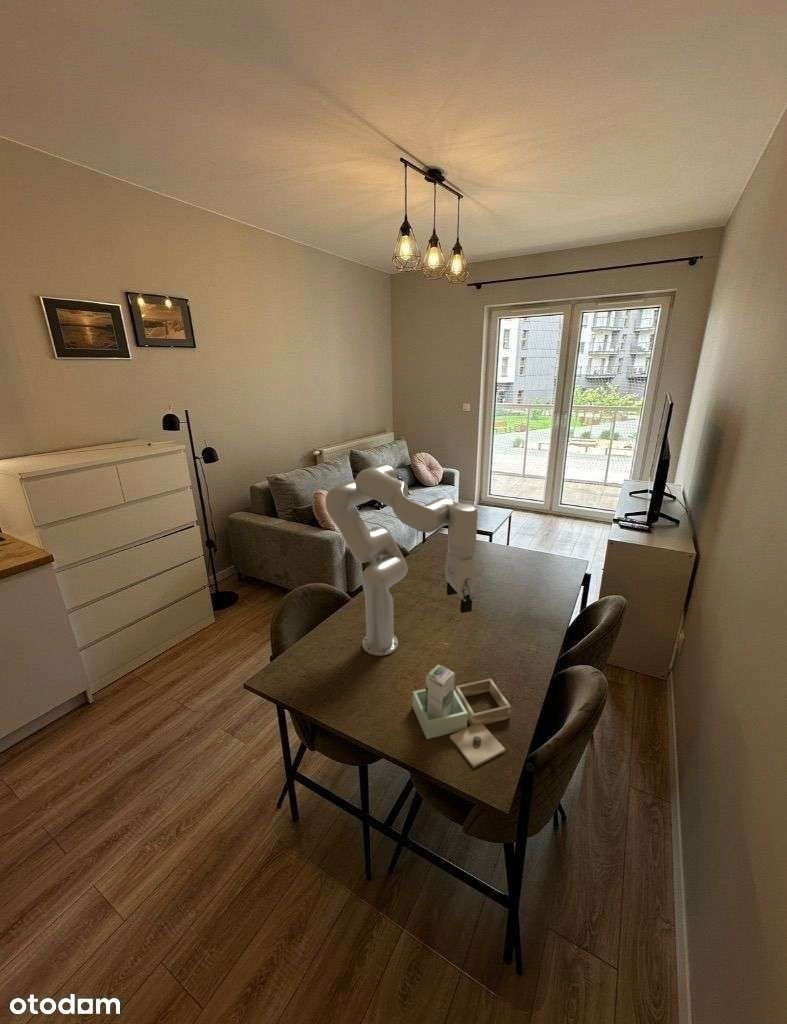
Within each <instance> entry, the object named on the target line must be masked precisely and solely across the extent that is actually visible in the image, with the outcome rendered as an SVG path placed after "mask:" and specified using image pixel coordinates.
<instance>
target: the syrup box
mask: <svg viewBox="0 0 787 1024" xmlns="http://www.w3.org/2000/svg"><path fill="white" fill-rule="evenodd" d="M455 675H456V672H454V671H452V670H450V669H449V668H447V667H445V666H443V665H440V664H437V665H436V666H434V667H433V668H432V669H431V670H430V671H429V672H427V674H426V675H425V689H426V690H425V713H426V715H427V717H428V718H429V719H430V720H431V719H435V718H440V717H444V716H448V715H451V714H452V708H453V695H454V690H455V679H456V676H455Z"/></svg>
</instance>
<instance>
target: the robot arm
mask: <svg viewBox="0 0 787 1024" xmlns="http://www.w3.org/2000/svg"><path fill="white" fill-rule="evenodd" d="M408 496H409V487H408V484H407V482H405V481H402V480H401V479H398V475H397V471H396V470H395V469H394V468H393V467H392V466H390V465H388V464H384V463H383V464H378V465H375V466H371V467H367V468H364V469H362V470H360V472H359V473H358V474H357V475H356V477H355V479H353V480H349V481H346V482H345V481H344V482H342V483H340V484H339V483H338V484H337V485H335V486H333V487H332V488H330V489H329V490H328V492H327V493H326V497H325V499H324V500H325V502H324V503H325V509H326V511H327V514H328V516H329V518H330V519H331V520H332V522H333V523H334V524H335V525H336V527H337V528H338V530H339V532H340V534H341V536H342V538H343V539H344V541H345V543H346V545H347V547H348V549H349V551H350V554H351V555H352V557H353V558H354V559H355V560H356V561H357V562H358V563H361V564H363V563H367V562H370V561H372V560H373V559H376V558H378V557H379V560H377V561H375V562H374V563H373V562H372V564H370V565H368V566H367V567H366V568H365V569H364V570H363V571H362V573H361V585H362V589H363V593H364V603H365V604H364V605H365V606H364V607H365V631H366V632H365V633H366V635H365V636H364V638H363V639H362V643H361V645H362V649H363V650H364V652H366V653H368V654H369V655H372V656H376V657H379V656H387V655H390V654H392V653H394V652H395V651H396V650H397V648H398V646H399V639H398V638H397V636H396V635H395V634H394V629H395V628H394V598H393V596H392V594H391V592H390V588H391V587H393V586H394V585H395V584H397V583H398V582H400V581H401V580H402V579H403V580H404V578H405V577H406V576H407V573H408V564H407V562H406V559H405V557H404V555H403V554H402V552H401V550H400V547H399V546H398V545H397V542H396V540H395V538H394V537H393V535H392V534H391V533H390V531H389V530H388V529H386V528H385V527H382V526H376V527H372V528H370V529H368V526H367V525H366V524H365V523H366V522H365V521H364V519H363V518H362V517H361V516H360V515H359V514H358V513H356V512H355V511H353V510H352V508H354V507H357V506H360V505H362V504H365V503H368V502H370V501H371V500H374V501H377V502H379V503H382V504H384V505H386V506H387V507H389V508H392V512H393V513H394V515H395V516H396V517H397V519H398V520H399V521H400V522H401V523H402V524H403V525H405V526H407V527H409V528H412V529H414V530H416V531H418V532H421V533H425V534H428V533H434V532H435V531H437V530H439V529H440V528H443V527H445V526H448V535H447V536H448V538H447V539H448V542H447V553H446V559H445V560H446V561H445V569H444V570H445V571H444V577H445V580H446V595H447V596H453V595H457V594H459V593H460V595H461V599H460V608H459V609H460V611H459V612H460V613H461V614H464V613H470V612H472V610H473V609H472V608H473V601H474V599H475V595H476V589H475V588H474V585H475V560H474V559H475V556H476V547H477V531H478V519H479V518H478V515H479V513H478V512H479V511H478V509H477V507H475V506H474V505H471V504H467V503H460V502H458V501H455V500H453V499H451V498H449V497H440V498H437V499H434V500H433V501H430V502H428V503H425V504H423V505H422V504H420V503H417V502H415V501H412V500H410V499H409V498H408ZM466 592H467V593H468V594H467V595H466V594H465V593H466Z"/></svg>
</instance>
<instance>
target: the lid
mask: <svg viewBox="0 0 787 1024" xmlns="http://www.w3.org/2000/svg"><path fill="white" fill-rule="evenodd" d="M449 739H450V740H451V742H452V743H453V744H454V745H455V747H457V749H458V750H459V752H460V753H461V754H462V756H463V757H464V758H465V760H467V762H468V763H469V764H470V766H471V767H472V768H473V769H475V768H477V767H479V766H480V765H482V764H484V763H486V762H488V761H490V760H492V759H493V758H495V757H497V756H499V755H500V754H503V753H505V752H506V748H505V747H504V746H503V745H502V743H500V742H499V740H498V739H497V738H496V737H495V736H494V735H493V734H492V733H491V732H490V730H489V729H488V728H487V727H486V726H485V725H483V724H482V723H480V724H476V725H470V726H467V728H465V729H463V730H461V731H457V732H453V734H452V733H451V735H449Z"/></svg>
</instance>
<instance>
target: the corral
mask: <svg viewBox="0 0 787 1024" xmlns="http://www.w3.org/2000/svg"><path fill="white" fill-rule="evenodd" d="M454 690H455V692H456V694H457V695H458V697H459V699H460V701H461V702H462V704H463V706H464V707H465V709H466V711H467V713H468V718H467V722H468V723H469V724H470V726H471V725H476V724H480V723H482V724H483V725H484V726H485V725H489V724H492V723H493V724H494V723H497V722H500V721H504V720H505V721H506V720H508V719H511V715H512V714H511V711H512V706H511V704H510V702H509V701H508V700H507V699H506V697H505V696H504V695H503V693H502V692H501V690H500V689H499V688H498V686H497V685H496V684H495V682H494V681H493V679H492V678H486V679H483V680H482V679H481V680H477V681H474V682H468V683H464V684H460V685H459V684H458V685H454ZM487 692H489V695H491V697H492V698H493V700H494V701H495V703H496V704H497V706H498V707H494V708H491V709H487V710H483V711H479V712H474V710H473V708H472V707H471V706H470V703H469V701H467V698H466V697H470V696H475V695H479V694H482V693H487Z"/></svg>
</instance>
